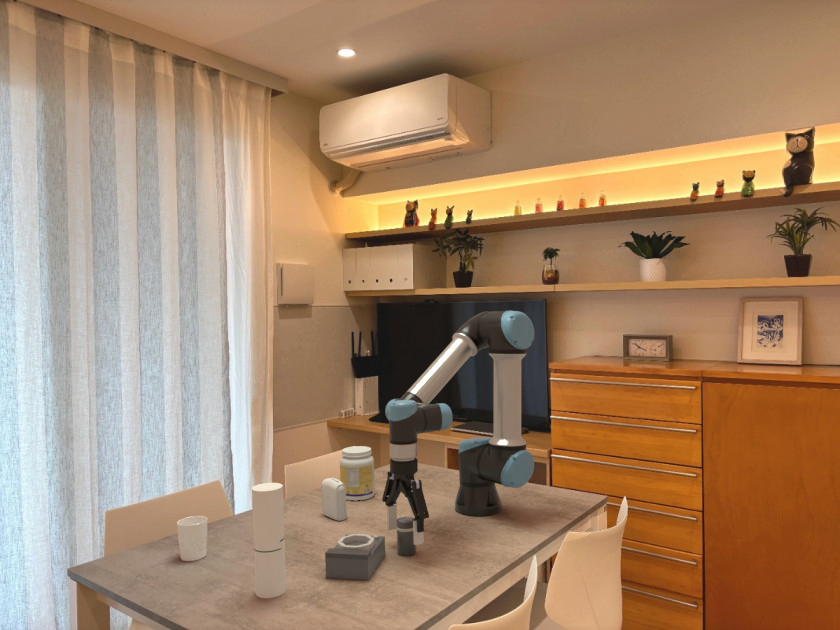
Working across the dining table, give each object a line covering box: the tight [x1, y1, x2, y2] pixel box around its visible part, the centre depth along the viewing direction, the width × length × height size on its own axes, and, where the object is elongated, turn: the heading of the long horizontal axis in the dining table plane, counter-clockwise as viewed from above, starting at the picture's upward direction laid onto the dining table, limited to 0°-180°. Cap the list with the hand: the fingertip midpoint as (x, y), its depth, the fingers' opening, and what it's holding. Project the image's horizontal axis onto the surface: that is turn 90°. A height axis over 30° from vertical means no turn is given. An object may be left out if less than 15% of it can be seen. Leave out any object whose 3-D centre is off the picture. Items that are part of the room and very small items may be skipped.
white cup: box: [176, 515, 208, 562], centre depth 171 cm, size 8×8×10 cm
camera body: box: [324, 533, 386, 581], centre depth 162 cm, size 16×11×7 cm
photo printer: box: [321, 477, 348, 522], centre depth 201 cm, size 10×4×12 cm, turn 39°
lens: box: [396, 516, 417, 558], centre depth 169 cm, size 5×5×9 cm
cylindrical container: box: [251, 482, 287, 599], centre depth 148 cm, size 7×7×25 cm
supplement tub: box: [339, 445, 376, 502], centre depth 222 cm, size 12×12×17 cm
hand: (405, 536), depth 169 cm, fingers open, 13 cm apart
